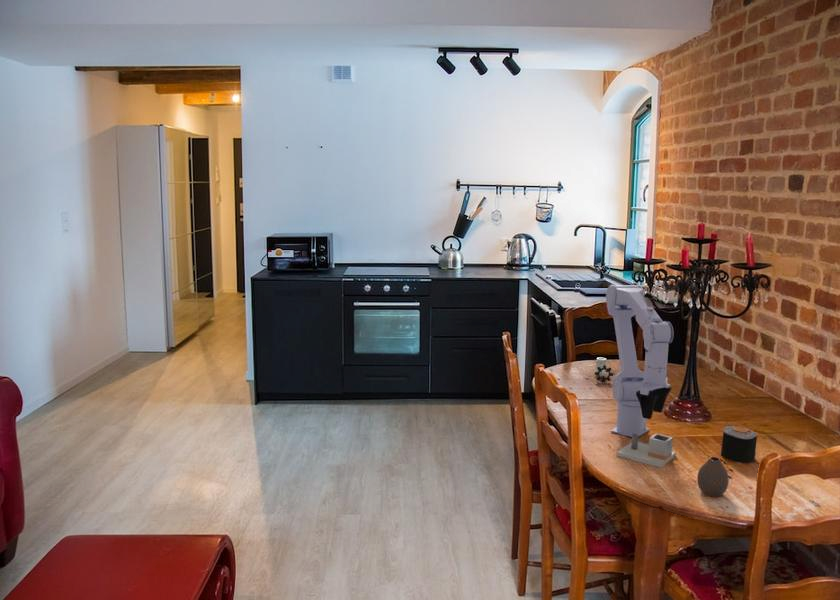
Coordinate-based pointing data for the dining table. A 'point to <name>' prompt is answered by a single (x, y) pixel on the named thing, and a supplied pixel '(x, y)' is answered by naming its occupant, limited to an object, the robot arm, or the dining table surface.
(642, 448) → the pin board
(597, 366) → the valve
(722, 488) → the vase
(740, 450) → the sushi
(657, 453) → the sleeve
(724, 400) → the dining table surface
